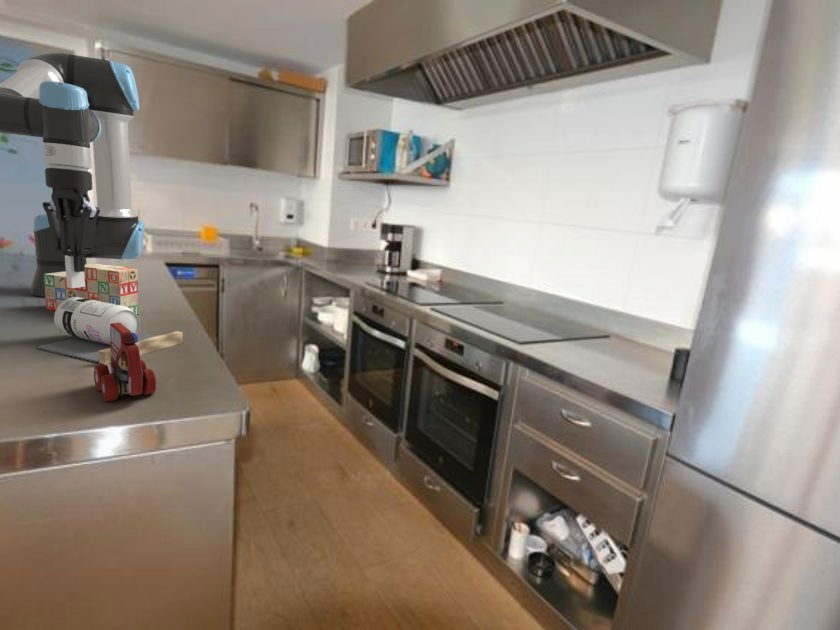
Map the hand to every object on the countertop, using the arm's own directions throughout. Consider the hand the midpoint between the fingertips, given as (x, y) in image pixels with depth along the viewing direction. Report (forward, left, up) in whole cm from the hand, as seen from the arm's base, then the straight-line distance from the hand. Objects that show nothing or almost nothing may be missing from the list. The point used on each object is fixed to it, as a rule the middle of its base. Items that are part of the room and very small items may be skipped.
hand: (76, 286), depth 100 cm
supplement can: (0, -2, -6) cm, 7 cm away
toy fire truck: (+16, +32, -11) cm, 37 cm away
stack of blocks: (-17, -18, -11) cm, 27 cm away
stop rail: (0, +18, -11) cm, 21 cm away
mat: (0, +9, -11) cm, 14 cm away
